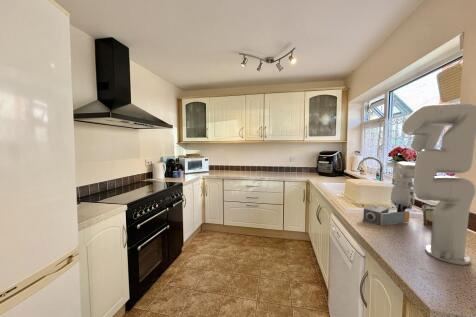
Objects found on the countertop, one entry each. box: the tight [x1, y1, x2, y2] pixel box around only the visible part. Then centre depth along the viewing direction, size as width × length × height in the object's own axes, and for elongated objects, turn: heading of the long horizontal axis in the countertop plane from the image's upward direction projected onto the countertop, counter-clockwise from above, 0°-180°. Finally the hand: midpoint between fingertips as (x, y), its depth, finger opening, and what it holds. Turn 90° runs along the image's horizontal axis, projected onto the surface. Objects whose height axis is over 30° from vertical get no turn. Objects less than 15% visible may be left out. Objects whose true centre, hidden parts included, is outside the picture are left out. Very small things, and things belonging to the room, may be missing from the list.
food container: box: [421, 204, 437, 227], centre depth 113 cm, size 12×6×10 cm, turn 84°
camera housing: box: [362, 204, 390, 226], centre depth 118 cm, size 14×8×8 cm, turn 126°
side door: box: [379, 210, 410, 227], centre depth 113 cm, size 18×1×6 cm, turn 103°
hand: (400, 215), depth 118 cm, fingers closed
